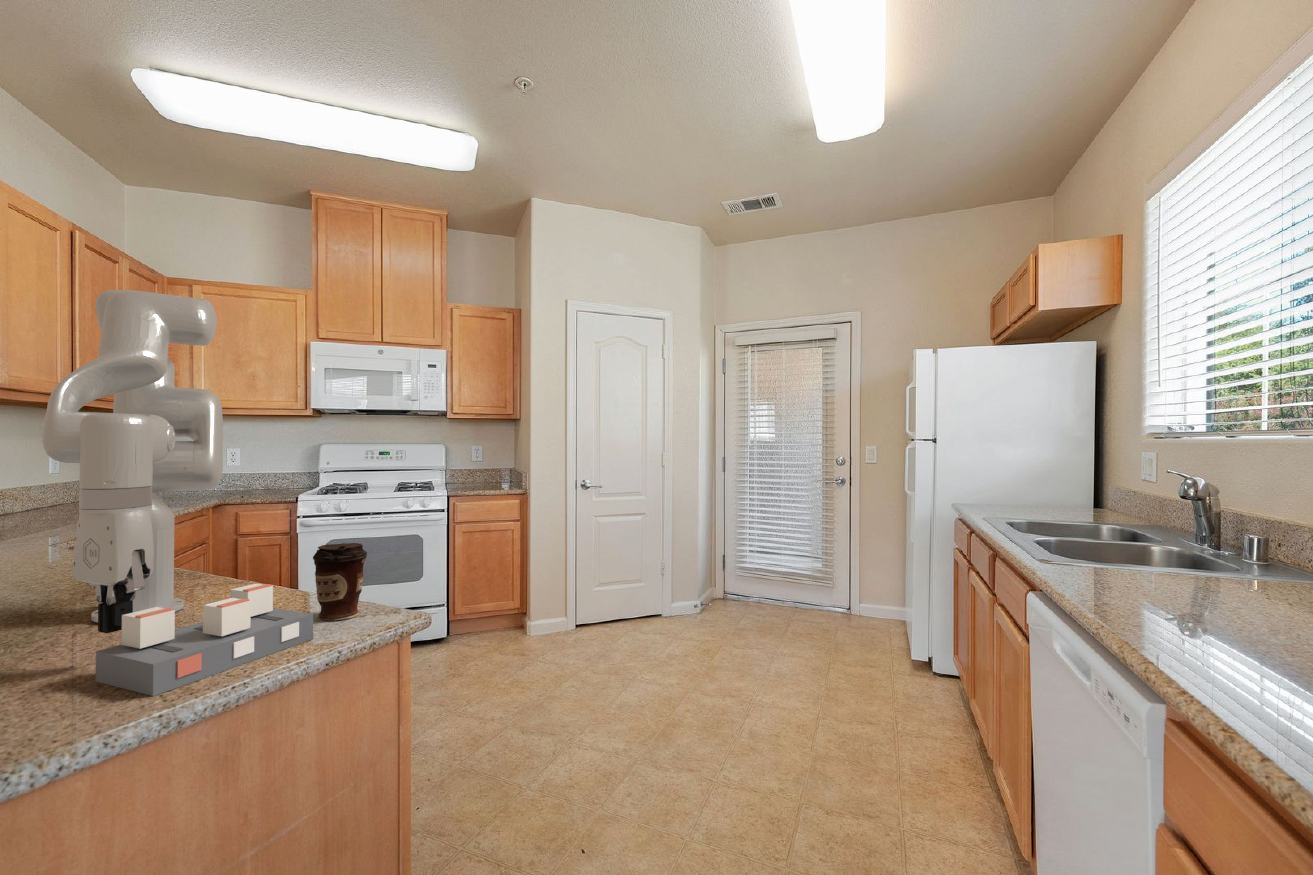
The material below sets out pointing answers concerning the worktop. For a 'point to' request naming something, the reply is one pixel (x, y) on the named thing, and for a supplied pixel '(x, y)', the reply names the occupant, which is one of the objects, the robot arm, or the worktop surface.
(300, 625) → the console
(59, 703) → the worktop surface
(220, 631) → the white red-striped block
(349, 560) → the coffee cup
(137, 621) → the white box
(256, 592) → the white red-striped block
